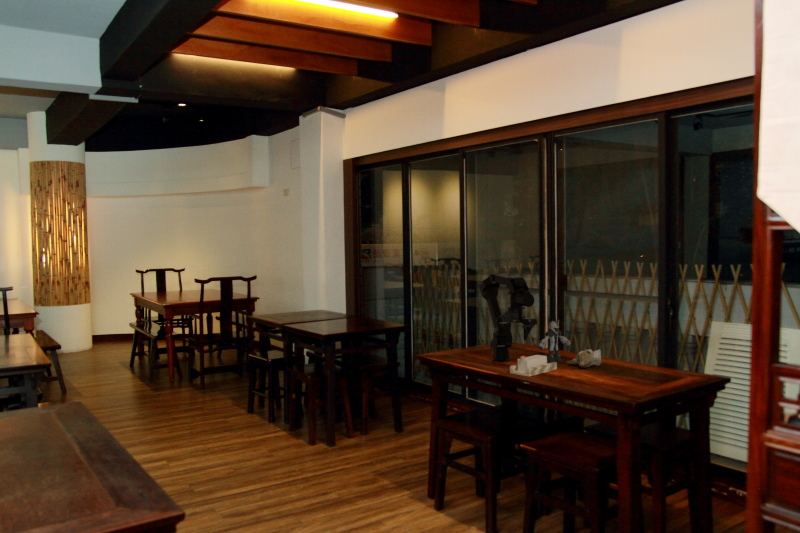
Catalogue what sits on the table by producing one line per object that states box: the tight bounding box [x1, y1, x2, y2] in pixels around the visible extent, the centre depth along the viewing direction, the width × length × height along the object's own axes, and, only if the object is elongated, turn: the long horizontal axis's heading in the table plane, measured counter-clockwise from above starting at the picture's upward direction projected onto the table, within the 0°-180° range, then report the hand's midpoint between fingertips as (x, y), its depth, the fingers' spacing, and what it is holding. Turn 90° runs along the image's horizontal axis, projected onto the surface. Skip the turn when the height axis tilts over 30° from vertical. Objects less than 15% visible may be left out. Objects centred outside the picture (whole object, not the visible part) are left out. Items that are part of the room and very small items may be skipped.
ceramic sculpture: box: [566, 347, 602, 368], centre depth 283 cm, size 11×9×15 cm
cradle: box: [509, 362, 558, 377], centre depth 275 cm, size 20×10×3 cm, turn 132°
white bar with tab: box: [517, 354, 548, 372], centre depth 275 cm, size 17×5×6 cm, turn 132°
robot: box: [537, 318, 572, 364], centre depth 294 cm, size 20×5×20 cm, turn 122°
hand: (516, 339), depth 286 cm, fingers open, 9 cm apart
